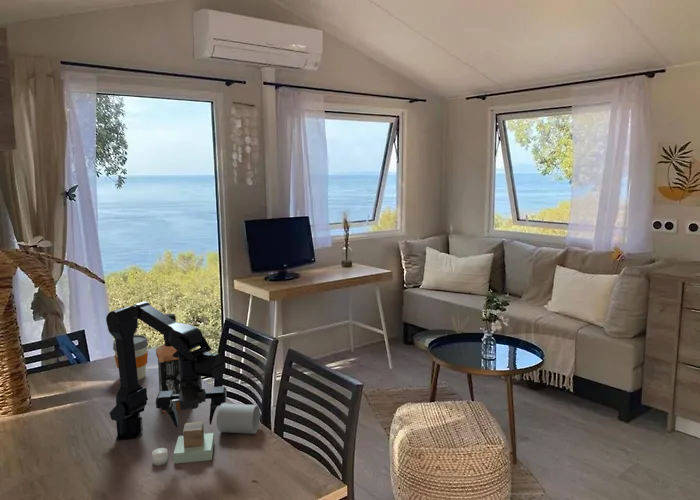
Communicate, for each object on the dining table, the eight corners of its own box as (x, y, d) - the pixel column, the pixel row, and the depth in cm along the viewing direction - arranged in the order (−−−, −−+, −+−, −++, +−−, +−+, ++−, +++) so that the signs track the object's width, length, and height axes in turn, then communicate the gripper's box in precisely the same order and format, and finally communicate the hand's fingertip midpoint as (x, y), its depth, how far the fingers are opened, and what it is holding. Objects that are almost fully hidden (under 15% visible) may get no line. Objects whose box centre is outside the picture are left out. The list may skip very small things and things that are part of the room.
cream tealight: (151, 466, 151) (150, 456, 151) (154, 458, 155) (153, 448, 155) (166, 464, 152) (166, 454, 152) (169, 457, 156) (168, 447, 155)
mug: (214, 431, 165) (250, 433, 163) (218, 401, 168) (253, 403, 166) (227, 432, 176) (261, 434, 175) (231, 405, 179) (264, 406, 177)
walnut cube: (186, 439, 160) (185, 423, 159) (204, 437, 160) (203, 421, 160) (184, 448, 155) (183, 431, 154) (202, 446, 155) (201, 429, 155)
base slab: (174, 463, 152) (173, 453, 152) (179, 445, 162) (178, 436, 162) (211, 459, 154) (211, 449, 153) (214, 442, 164) (213, 432, 163)
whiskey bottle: (193, 407, 187) (187, 316, 182) (162, 414, 183) (155, 320, 178) (187, 396, 196) (181, 309, 191) (158, 402, 192) (151, 312, 187)
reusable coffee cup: (132, 385, 207) (129, 346, 205) (108, 379, 212) (105, 342, 210) (157, 373, 218) (154, 336, 216) (133, 368, 224) (130, 333, 221)
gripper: (150, 387, 145) (154, 442, 147) (223, 381, 148) (226, 435, 150) (157, 371, 156) (161, 423, 158) (225, 366, 159) (228, 417, 161)
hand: (193, 425), depth 157 cm, fingers open, 9 cm apart
